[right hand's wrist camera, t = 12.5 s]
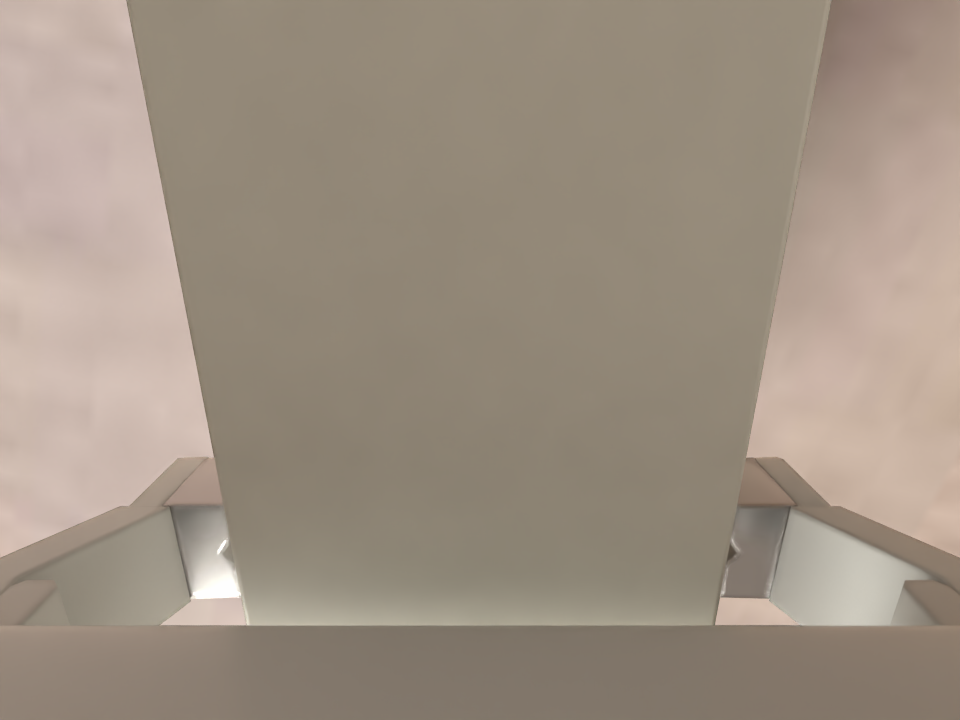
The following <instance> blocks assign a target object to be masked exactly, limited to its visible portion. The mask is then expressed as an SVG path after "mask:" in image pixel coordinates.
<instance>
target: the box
mask: <svg viewBox="0 0 960 720" xmlns="http://www.w3.org/2000/svg"><path fill="white" fill-rule="evenodd" d="M126 1H127V6H128V11H129V16H130V22H131V27H132V32H133V37H134V42H135V48H136V53H137V58H138V63H139V68H140V74H141V79H142V84H143V89H144V94H145V100H146V105H147V110H148V115H149V120H150V126H151V131H152V136H153V141H154V147H155V152H156V157H157V162H158V167H159V173H160V178H161V183H162V188H163V193H164V199H165V204H166V209H167V214H168V219H169V225H170V230H171V235H172V240H173V245H174V251H175V256H176V261H177V266H178V271H179V277H180V282H181V287H182V292H183V297H184V303H185V308H186V313H187V318H188V323H189V329H190V334H191V339H192V344H193V349H194V355H195V360H196V365H197V370H198V376H199V381H200V386H201V391H202V396H203V402H204V407H205V412H206V417H207V422H208V428H209V433H210V438H211V443H212V448H213V454H214V459H215V464H216V469H217V474H218V480H219V485H220V490H221V495H222V500H223V506H224V511H225V516H226V521H227V526H228V532H229V537H230V542H231V547H232V552H233V558H234V563H235V568H236V573H237V579H238V584H239V589H240V594H241V599H242V605H243V610H244V615H245V620H246V625H715V620H716V615H717V610H718V604H719V599H720V594H721V588H722V583H723V578H724V572H725V567H726V562H727V556H728V551H729V546H730V540H731V535H732V530H733V524H734V519H735V514H736V508H737V503H738V498H739V492H740V487H741V482H742V476H743V471H744V466H745V460H746V455H747V450H748V444H749V439H750V434H751V428H752V423H753V418H754V412H755V407H756V402H757V396H758V391H759V385H760V380H761V375H762V369H763V364H764V359H765V353H766V348H767V343H768V337H769V332H770V327H771V321H772V316H773V311H774V305H775V300H776V295H777V289H778V284H779V279H780V273H781V268H782V263H783V257H784V252H785V247H786V241H787V236H788V231H789V225H790V220H791V215H792V209H793V204H794V199H795V193H796V188H797V183H798V177H799V172H800V167H801V161H802V156H803V150H804V145H805V140H806V134H807V129H808V124H809V118H810V113H811V108H812V102H813V97H814V92H815V86H816V81H817V76H818V70H819V65H820V60H821V54H822V49H823V44H824V38H825V33H826V28H827V22H828V17H829V12H830V6H831V1H832V0H126Z"/></svg>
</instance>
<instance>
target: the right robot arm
mask: <svg viewBox="0 0 960 720" xmlns="http://www.w3.org/2000/svg"><path fill="white" fill-rule="evenodd" d="M230 597H241V594H240V589H239V584H238V579H237V573H236V568H235V563H234V558H233V552H232V547H231V542H230V537H229V532H228V526H227V521H226V516H225V511H224V506H223V500H222V495H221V490H220V485H219V480H218V474H217V469H216V464H215V459H214V458H209V457H187V458H179V459H177V460H176V461H175V462H174V463H173V464H172V465H171V466H170V467H169V468H168V469H167V470H166V471H165V472H164V473H163V474H162V475H161V476H160V477H158V478H157V479H156V480H155V481H154V482H153V483H152V484H151V485H150V486H149V487H148V488H147V489H146V490H145V491H144V492H143V493H142V494H141V495H140V496H139V497H138V498H137V499H136V500H135V501H134V502H133V503H132V504H131V505H130V506H120V507H117V508H115V509H113V510H110V511H108V512H106V513H103V514H101V515H99V516H96V517H94V518H92V519H89V520H87V521H85V522H83V523H80V524H78V525H76V526H73V527H71V528H69V529H66V530H64V531H62V532H59V533H57V534H55V535H52V536H50V537H48V538H45V539H43V540H41V541H38V542H36V543H34V544H31V545H29V546H27V547H24V548H22V549H20V550H17V551H15V552H13V553H10V554H8V555H6V556H3V557H1V558H0V720H960V558H959V557H956V556H954V555H952V554H949V553H947V552H945V551H942V550H940V549H938V548H935V547H933V546H931V545H929V544H926V543H924V542H922V541H919V540H917V539H915V538H912V537H910V536H908V535H905V534H903V533H901V532H898V531H896V530H894V529H891V528H889V527H887V526H884V525H882V524H880V523H877V522H875V521H873V520H871V519H868V518H866V517H864V516H861V515H859V514H857V513H854V512H852V511H850V510H847V509H845V508H843V507H840V506H830V505H829V504H828V503H827V502H826V501H825V500H824V499H823V498H822V497H821V496H820V495H819V494H818V493H817V492H816V491H815V490H814V489H813V488H812V487H811V486H810V485H809V484H808V483H807V482H806V481H805V480H804V479H803V478H802V477H801V476H800V475H799V474H798V473H797V472H796V471H795V470H794V469H793V468H792V467H791V466H789V465H788V464H787V463H786V462H785V461H784V460H783V459H781V458H778V457H761V458H746V460H745V466H744V471H743V476H742V482H741V487H740V492H739V498H738V503H737V508H736V514H735V519H734V524H733V530H732V535H731V540H730V546H729V551H728V556H727V562H726V567H725V572H724V578H723V583H722V588H721V594H720V597H729V598H765V599H769V601H770V602H771V603H773V604H774V605H775V606H776V607H778V608H779V609H780V610H782V611H783V612H784V613H785V614H787V615H788V616H789V617H791V618H792V619H793V620H795V621H796V622H797V623H798V624H800V625H161V624H162V623H163V622H164V621H166V620H167V619H168V618H170V617H171V616H172V615H173V614H175V613H176V612H177V611H179V610H180V609H181V608H183V607H184V606H185V605H186V604H188V603H189V602H190V601H191V599H194V598H230Z"/></svg>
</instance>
